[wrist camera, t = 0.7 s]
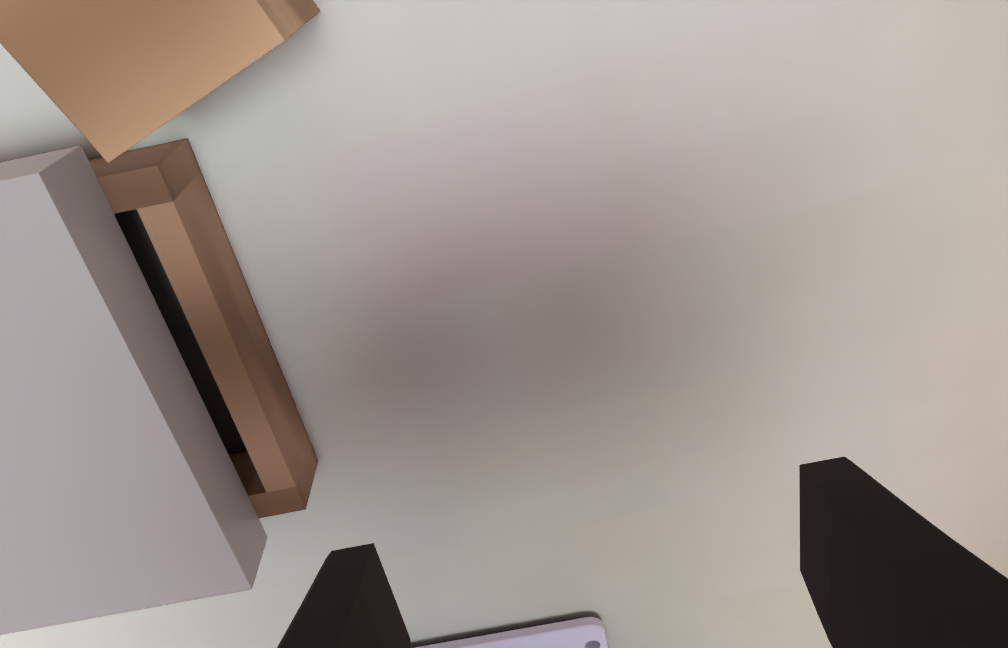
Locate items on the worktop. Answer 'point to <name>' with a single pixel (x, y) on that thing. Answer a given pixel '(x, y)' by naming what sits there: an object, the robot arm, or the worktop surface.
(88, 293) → the lid
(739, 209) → the worktop surface
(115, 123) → the beech block
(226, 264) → the frame
